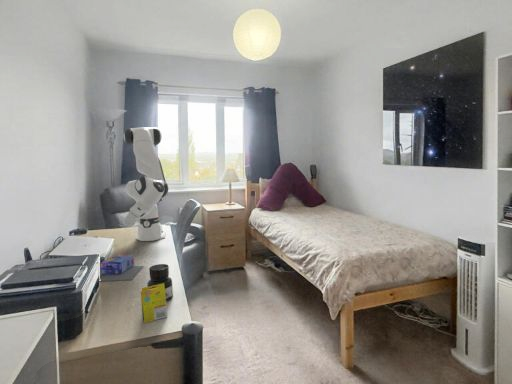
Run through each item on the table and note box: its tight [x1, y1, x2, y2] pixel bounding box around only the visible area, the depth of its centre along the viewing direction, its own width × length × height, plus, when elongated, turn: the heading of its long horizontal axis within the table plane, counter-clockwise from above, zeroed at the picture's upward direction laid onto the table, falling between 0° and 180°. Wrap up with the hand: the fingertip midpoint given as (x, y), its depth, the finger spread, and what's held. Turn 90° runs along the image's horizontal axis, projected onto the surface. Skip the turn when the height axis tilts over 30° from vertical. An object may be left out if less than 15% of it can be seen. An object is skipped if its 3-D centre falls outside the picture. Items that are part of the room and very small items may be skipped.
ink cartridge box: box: [99, 254, 135, 275], centre depth 146 cm, size 10×6×14 cm
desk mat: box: [100, 265, 144, 283], centre depth 143 cm, size 17×14×1 cm
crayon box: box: [140, 283, 168, 324], centre depth 102 cm, size 7×3×12 cm, turn 119°
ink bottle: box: [146, 263, 174, 302], centre depth 116 cm, size 10×9×12 cm
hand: (130, 225), depth 172 cm, fingers closed
